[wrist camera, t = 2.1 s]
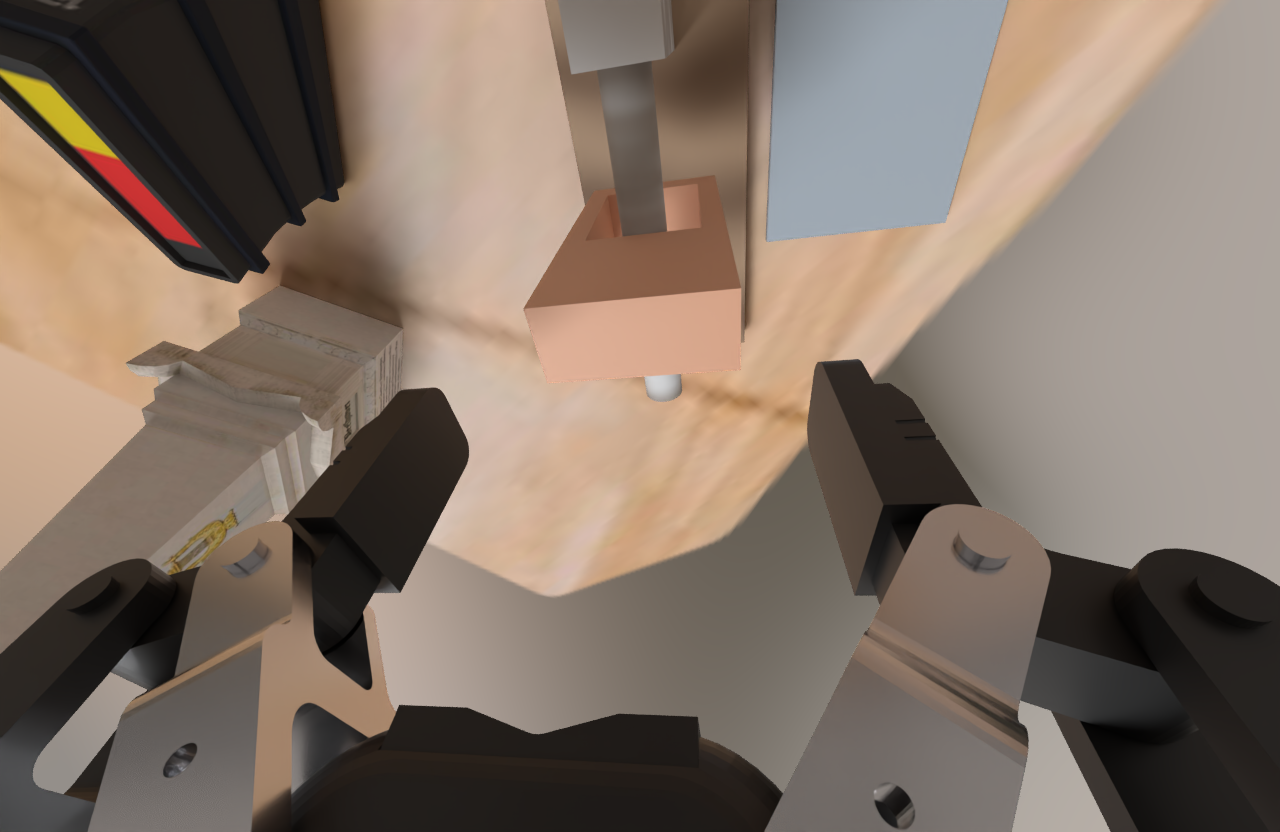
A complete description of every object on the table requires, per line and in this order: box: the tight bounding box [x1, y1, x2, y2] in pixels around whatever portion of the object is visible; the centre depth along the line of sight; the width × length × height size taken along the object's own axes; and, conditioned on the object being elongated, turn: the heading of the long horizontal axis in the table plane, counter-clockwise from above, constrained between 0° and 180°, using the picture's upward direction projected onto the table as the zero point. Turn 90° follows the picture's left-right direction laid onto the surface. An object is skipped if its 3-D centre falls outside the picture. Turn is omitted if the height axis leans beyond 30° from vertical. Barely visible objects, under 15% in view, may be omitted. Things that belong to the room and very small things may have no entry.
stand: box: [545, 0, 749, 402], centre depth 22 cm, size 22×10×17 cm, turn 8°
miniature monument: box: [0, 286, 403, 654], centre depth 28 cm, size 10×10×30 cm
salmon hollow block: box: [524, 175, 741, 383], centre depth 17 cm, size 2×6×12 cm, turn 98°
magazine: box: [0, 0, 344, 283], centre depth 23 cm, size 4×13×15 cm, turn 165°
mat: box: [766, 0, 1008, 242], centre depth 24 cm, size 16×11×1 cm
